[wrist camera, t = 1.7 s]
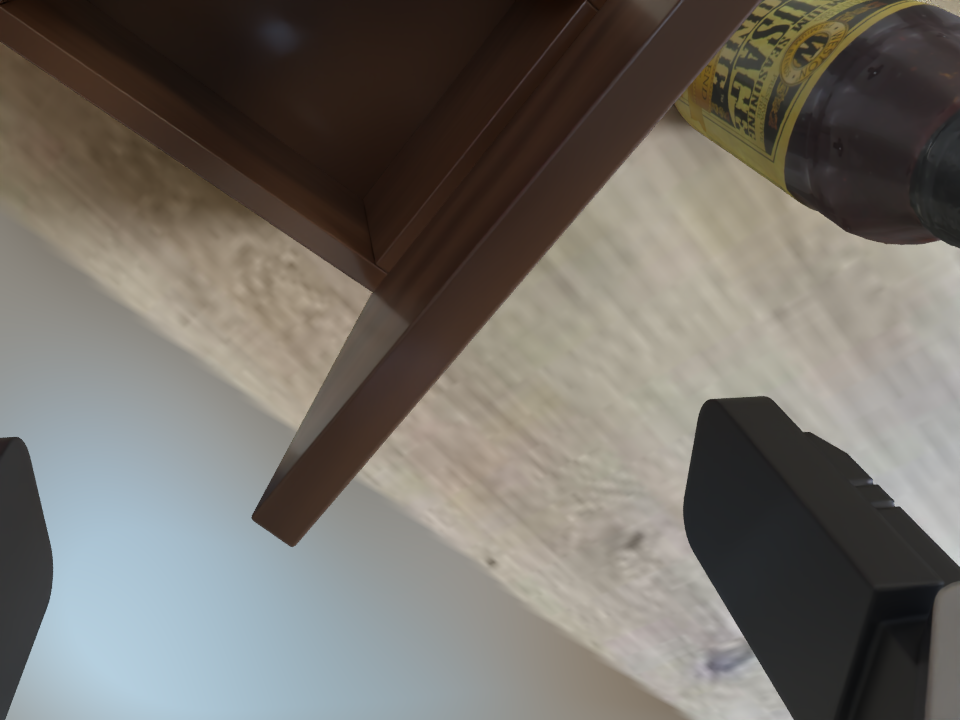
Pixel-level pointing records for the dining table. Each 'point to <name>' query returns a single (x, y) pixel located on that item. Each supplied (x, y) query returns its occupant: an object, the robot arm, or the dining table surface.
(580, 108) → the lid
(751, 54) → the sauce bottle
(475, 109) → the box
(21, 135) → the dining table surface
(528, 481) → the dining table surface
